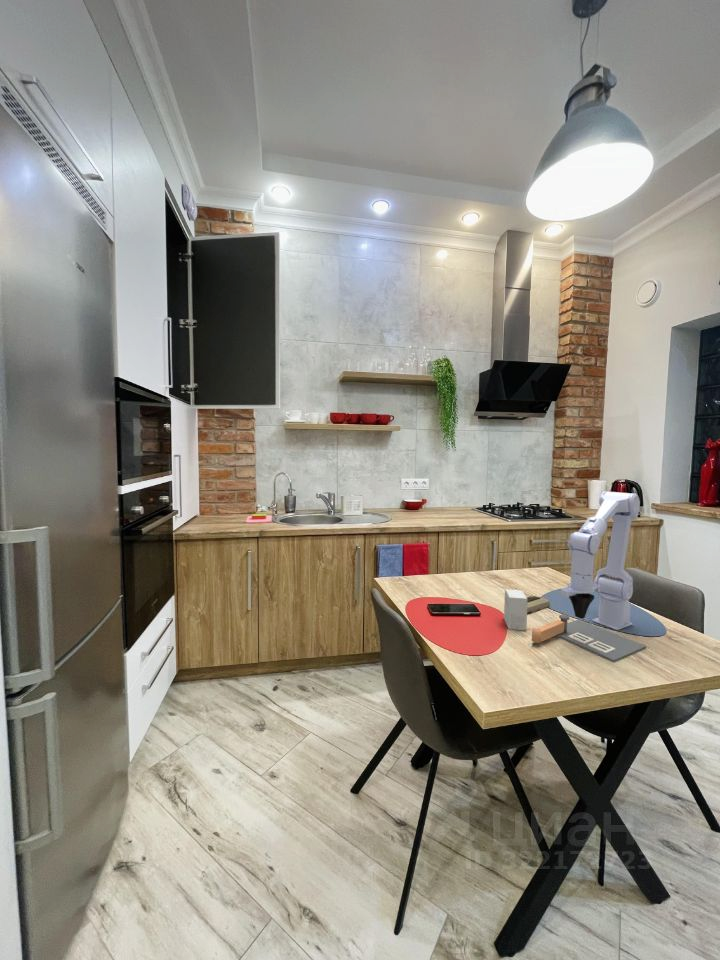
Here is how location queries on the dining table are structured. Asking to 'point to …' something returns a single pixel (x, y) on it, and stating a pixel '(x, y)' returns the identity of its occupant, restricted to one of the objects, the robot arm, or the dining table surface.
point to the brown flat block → (536, 604)
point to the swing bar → (547, 631)
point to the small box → (515, 609)
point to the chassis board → (598, 640)
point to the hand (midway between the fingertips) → (579, 617)
